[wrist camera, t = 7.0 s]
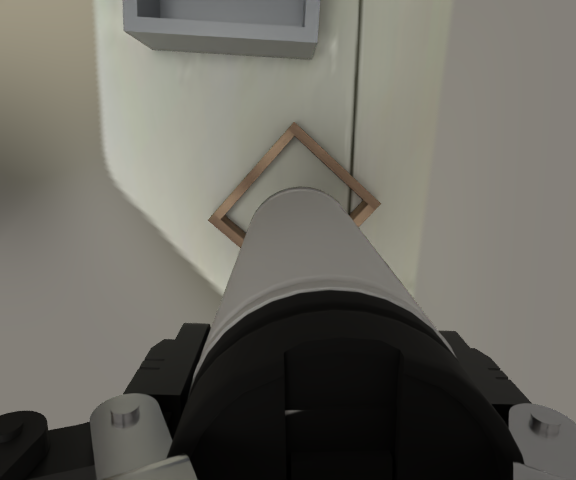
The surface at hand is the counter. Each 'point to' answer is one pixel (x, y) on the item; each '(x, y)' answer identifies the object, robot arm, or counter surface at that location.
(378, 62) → the counter surface
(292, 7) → the gray bin
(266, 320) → the travel mug
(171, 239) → the counter surface
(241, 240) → the walnut holder
